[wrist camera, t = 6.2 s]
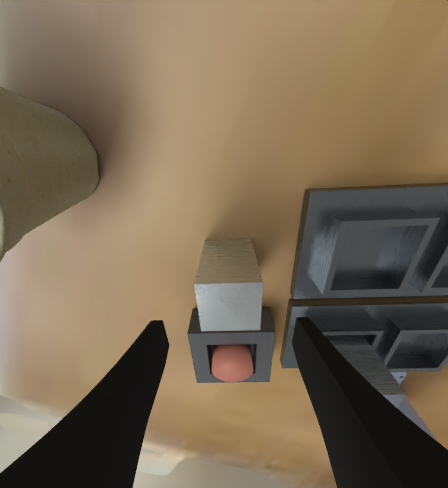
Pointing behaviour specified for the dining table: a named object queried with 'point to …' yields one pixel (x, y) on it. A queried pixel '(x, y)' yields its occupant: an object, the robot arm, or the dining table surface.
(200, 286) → the billet
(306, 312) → the pallet
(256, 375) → the box
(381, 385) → the billet
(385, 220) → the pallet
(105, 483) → the robot arm
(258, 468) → the dining table surface
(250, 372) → the button
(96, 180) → the flower pot
